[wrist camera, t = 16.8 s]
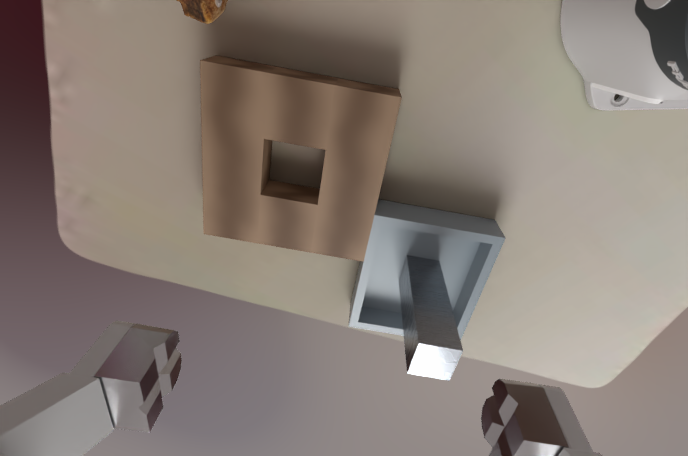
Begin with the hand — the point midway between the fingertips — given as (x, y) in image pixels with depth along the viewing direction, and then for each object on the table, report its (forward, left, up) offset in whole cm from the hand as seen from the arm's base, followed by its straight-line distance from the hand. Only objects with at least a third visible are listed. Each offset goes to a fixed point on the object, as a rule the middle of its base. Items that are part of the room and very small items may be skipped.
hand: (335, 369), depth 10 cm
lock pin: (-10, +18, -32) cm, 38 cm away
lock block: (+6, +7, -33) cm, 34 cm away
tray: (-10, +18, -33) cm, 39 cm away
